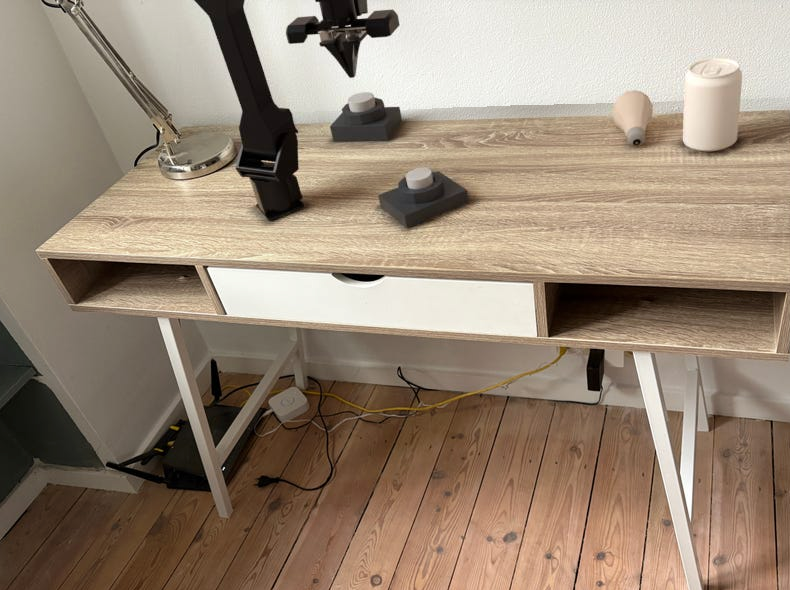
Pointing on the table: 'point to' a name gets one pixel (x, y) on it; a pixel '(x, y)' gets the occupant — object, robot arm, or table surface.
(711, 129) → the beverage can
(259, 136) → the robot arm
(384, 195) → the dark grey button base
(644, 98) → the light bulb
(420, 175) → the small button
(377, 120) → the dark grey button mount
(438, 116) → the table surface
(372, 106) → the large button
